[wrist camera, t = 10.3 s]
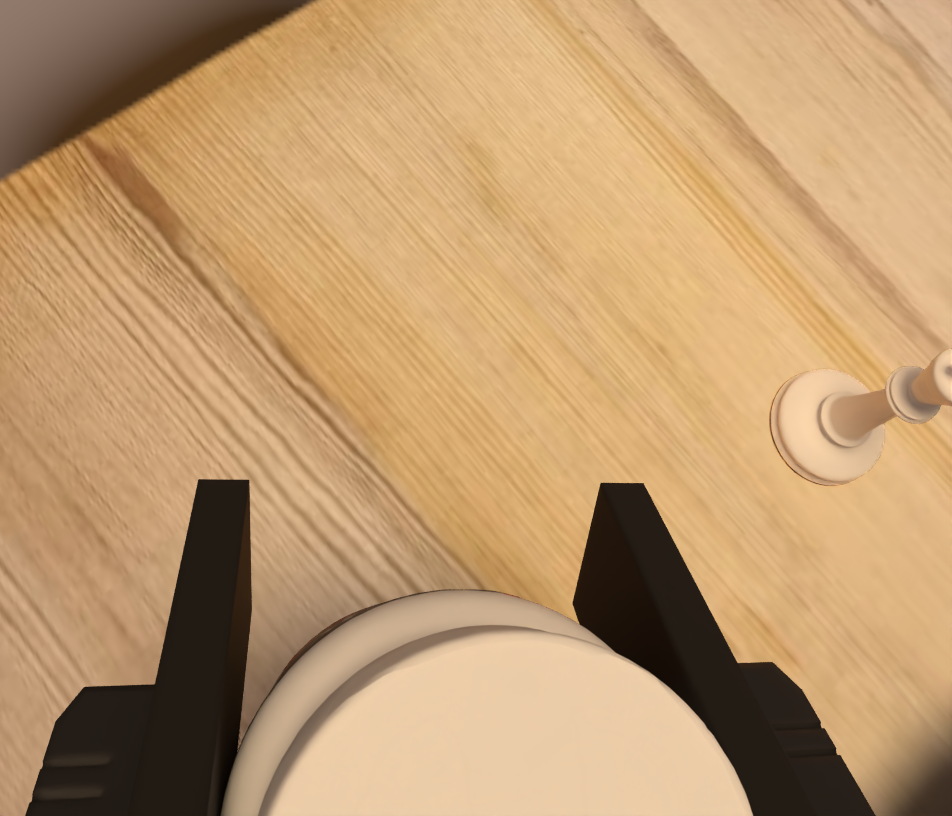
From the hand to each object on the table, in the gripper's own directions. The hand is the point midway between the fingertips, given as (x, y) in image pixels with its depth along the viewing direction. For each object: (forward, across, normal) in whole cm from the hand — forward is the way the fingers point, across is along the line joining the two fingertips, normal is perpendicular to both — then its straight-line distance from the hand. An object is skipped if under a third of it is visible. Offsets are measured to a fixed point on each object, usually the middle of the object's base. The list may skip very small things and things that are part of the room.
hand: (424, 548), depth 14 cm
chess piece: (+17, +19, -8) cm, 27 cm away
